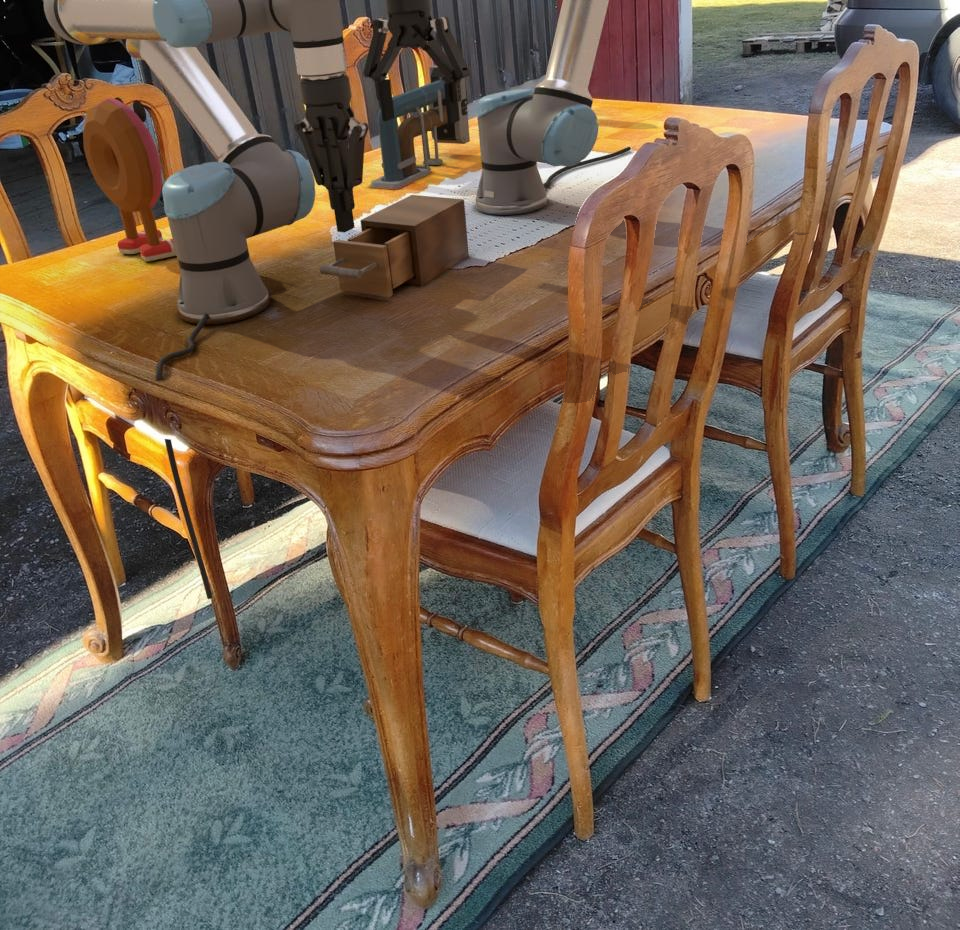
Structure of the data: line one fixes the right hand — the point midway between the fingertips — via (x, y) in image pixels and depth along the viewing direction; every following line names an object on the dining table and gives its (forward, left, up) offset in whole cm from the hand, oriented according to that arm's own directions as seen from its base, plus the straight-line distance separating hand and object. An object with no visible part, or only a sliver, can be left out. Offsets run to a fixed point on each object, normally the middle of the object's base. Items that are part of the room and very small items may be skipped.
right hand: (420, 121), depth 168 cm
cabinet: (+5, 0, -25) cm, 25 cm away
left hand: (+24, -2, -12) cm, 27 cm away
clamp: (-59, -36, -25) cm, 73 cm away
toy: (+11, -60, -25) cm, 66 cm away
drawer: (+18, -1, -24) cm, 30 cm away
